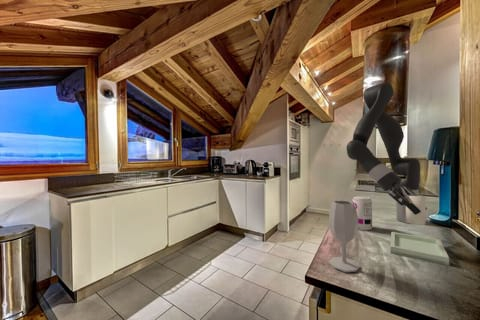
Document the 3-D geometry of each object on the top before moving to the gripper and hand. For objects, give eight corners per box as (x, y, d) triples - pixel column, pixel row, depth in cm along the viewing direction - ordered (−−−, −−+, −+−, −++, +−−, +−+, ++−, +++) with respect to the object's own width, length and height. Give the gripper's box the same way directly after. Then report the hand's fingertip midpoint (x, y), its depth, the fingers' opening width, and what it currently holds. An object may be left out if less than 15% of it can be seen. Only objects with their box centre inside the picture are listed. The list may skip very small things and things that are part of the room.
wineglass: (346, 276, 61) (345, 206, 60) (323, 262, 69) (322, 200, 68) (365, 269, 64) (364, 203, 64) (342, 256, 72) (341, 198, 72)
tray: (391, 237, 87) (391, 231, 87) (439, 246, 78) (439, 239, 78) (390, 253, 74) (390, 246, 74) (449, 265, 65) (449, 258, 65)
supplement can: (354, 229, 97) (353, 198, 97) (351, 224, 105) (351, 195, 104) (374, 231, 94) (373, 199, 94) (370, 226, 102) (369, 196, 101)
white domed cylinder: (405, 219, 80) (405, 194, 79) (424, 221, 76) (424, 195, 76) (406, 223, 75) (405, 196, 75) (426, 226, 72) (426, 198, 72)
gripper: (383, 171, 78) (424, 209, 68) (399, 169, 86) (437, 203, 76) (368, 184, 82) (404, 221, 73) (384, 181, 90) (419, 214, 80)
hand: (421, 211), depth 74 cm, fingers closed on white domed cylinder, 5 cm apart
